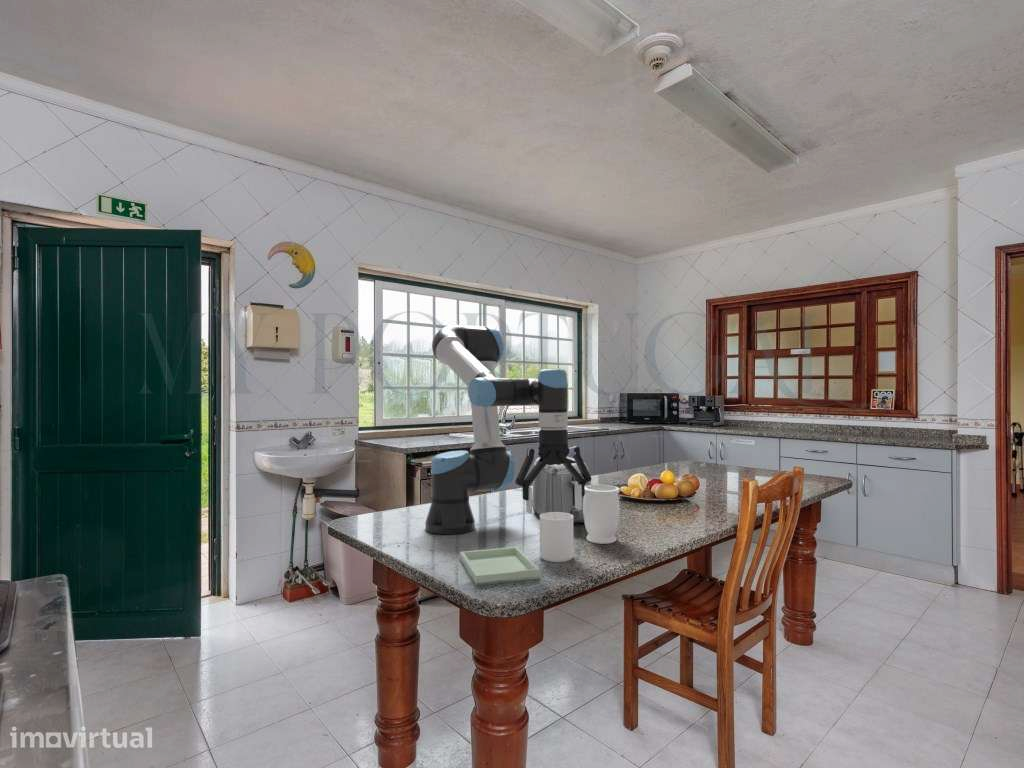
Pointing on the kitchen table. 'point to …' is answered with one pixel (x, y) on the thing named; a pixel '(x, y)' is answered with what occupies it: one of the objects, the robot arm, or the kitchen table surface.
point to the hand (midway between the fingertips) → (554, 510)
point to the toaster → (556, 490)
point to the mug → (556, 536)
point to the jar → (601, 513)
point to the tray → (498, 566)
